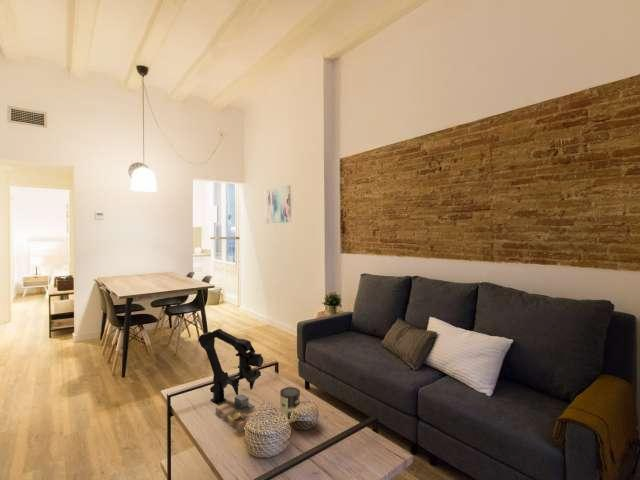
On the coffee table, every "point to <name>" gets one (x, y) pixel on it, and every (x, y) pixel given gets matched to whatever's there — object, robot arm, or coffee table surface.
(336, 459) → the coffee table surface
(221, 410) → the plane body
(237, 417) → the lever
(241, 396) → the cap block
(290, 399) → the coffee can
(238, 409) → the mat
